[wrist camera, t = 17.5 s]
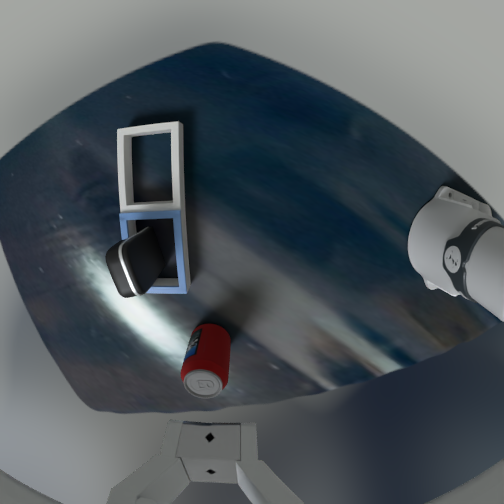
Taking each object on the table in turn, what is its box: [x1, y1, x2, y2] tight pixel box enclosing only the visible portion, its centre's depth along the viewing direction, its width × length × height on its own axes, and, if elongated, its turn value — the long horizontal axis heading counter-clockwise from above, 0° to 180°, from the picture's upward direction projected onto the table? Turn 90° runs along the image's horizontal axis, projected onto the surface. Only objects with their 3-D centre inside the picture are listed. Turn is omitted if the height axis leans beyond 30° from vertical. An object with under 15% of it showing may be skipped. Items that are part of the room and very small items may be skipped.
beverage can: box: [181, 324, 231, 398], centre depth 41 cm, size 7×7×12 cm
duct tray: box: [117, 121, 191, 294], centre depth 38 cm, size 9×24×4 cm, turn 1°
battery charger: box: [106, 227, 166, 298], centre depth 36 cm, size 7×4×11 cm, turn 15°
